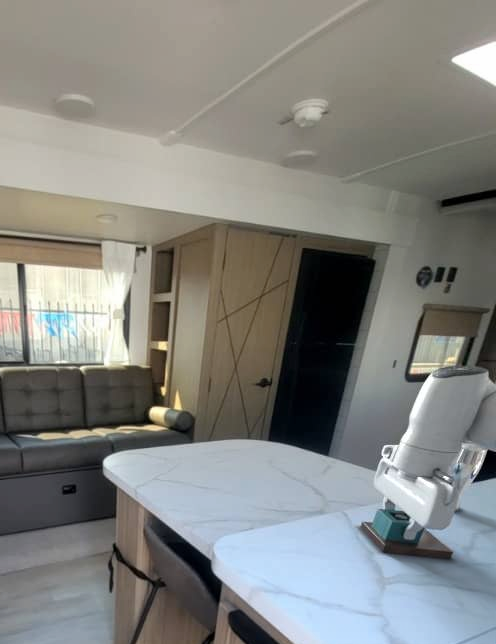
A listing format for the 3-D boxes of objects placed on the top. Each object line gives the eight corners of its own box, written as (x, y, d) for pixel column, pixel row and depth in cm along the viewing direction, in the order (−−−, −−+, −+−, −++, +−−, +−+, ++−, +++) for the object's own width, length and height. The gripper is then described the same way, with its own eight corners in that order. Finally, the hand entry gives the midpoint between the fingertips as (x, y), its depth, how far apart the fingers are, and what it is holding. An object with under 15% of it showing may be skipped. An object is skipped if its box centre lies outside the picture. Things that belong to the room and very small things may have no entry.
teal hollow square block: (402, 529, 82) (409, 511, 80) (418, 543, 77) (426, 525, 75) (371, 526, 83) (377, 508, 81) (385, 540, 77) (392, 521, 76)
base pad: (420, 533, 84) (430, 509, 82) (450, 558, 75) (462, 532, 73) (360, 527, 85) (368, 504, 83) (382, 552, 76) (392, 526, 74)
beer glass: (433, 509, 96) (459, 448, 89) (420, 498, 102) (444, 440, 95) (466, 514, 94) (496, 452, 88) (451, 502, 100) (478, 443, 94)
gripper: (482, 483, 64) (446, 557, 70) (412, 446, 82) (388, 508, 88) (439, 479, 64) (407, 554, 70) (379, 444, 82) (358, 505, 88)
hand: (396, 528), depth 79 cm, fingers open, 6 cm apart
